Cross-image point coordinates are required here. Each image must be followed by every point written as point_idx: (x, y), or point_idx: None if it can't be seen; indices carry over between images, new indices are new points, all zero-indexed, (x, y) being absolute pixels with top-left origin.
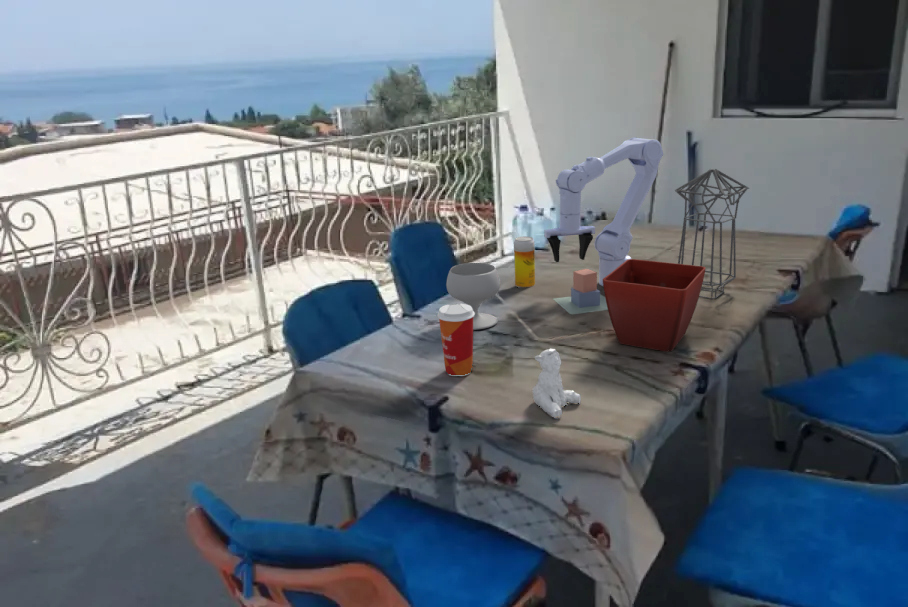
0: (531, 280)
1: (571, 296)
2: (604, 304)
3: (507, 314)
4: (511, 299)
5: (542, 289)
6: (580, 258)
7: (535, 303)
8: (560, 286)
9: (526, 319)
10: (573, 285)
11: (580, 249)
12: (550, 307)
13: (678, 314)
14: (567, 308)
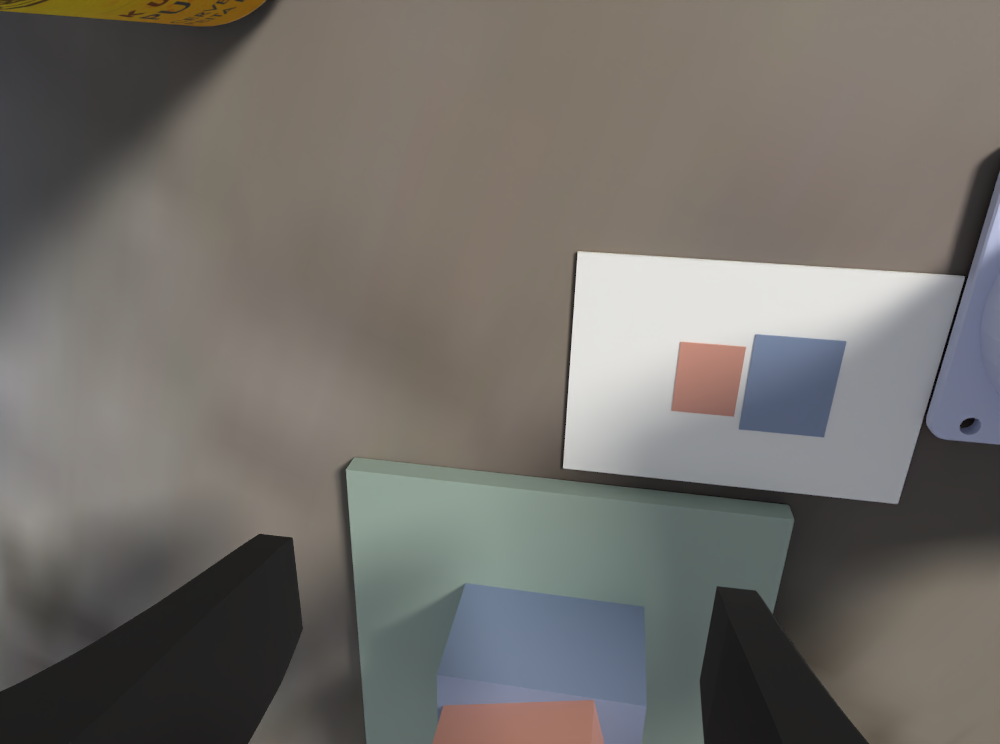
0: (205, 11)
1: (456, 620)
2: (666, 739)
3: (2, 542)
4: (37, 263)
5: (364, 93)
6: (710, 625)
7: (214, 438)
8: (588, 68)
9: None
10: (435, 734)
11: (752, 740)
12: (302, 558)
13: None
14: (384, 682)
